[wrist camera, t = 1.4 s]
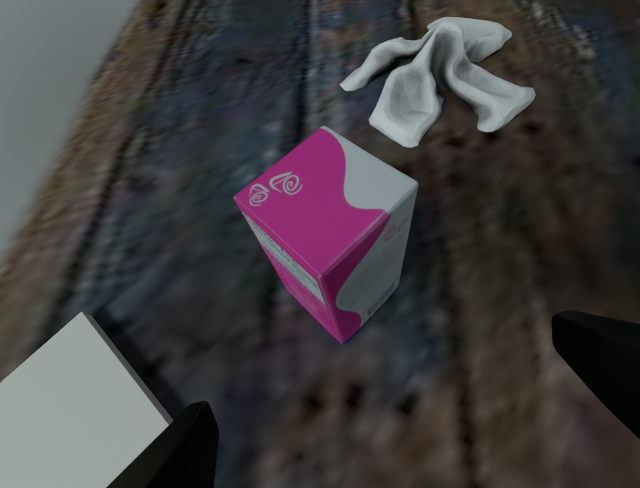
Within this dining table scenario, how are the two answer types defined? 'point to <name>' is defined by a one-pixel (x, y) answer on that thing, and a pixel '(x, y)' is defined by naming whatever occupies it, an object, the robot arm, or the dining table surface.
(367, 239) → the supplement box
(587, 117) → the dining table surface
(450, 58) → the cloth
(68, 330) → the mat
